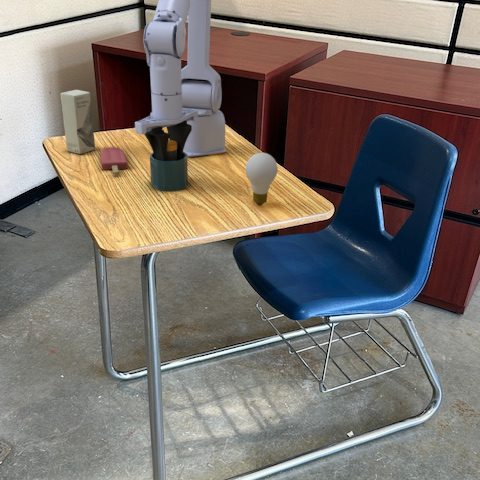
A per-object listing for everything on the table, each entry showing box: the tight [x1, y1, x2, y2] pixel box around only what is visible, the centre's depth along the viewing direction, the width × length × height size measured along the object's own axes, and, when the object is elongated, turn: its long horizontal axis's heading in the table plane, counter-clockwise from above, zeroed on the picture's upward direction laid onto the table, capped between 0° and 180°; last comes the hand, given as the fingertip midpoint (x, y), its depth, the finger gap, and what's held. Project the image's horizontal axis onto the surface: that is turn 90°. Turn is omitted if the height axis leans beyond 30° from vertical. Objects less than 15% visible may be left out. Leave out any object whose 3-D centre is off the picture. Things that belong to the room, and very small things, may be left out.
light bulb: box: [245, 152, 278, 206], centre depth 113 cm, size 6×6×10 cm
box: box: [60, 89, 96, 155], centre depth 136 cm, size 5×4×13 cm
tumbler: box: [149, 152, 189, 192], centre depth 122 cm, size 7×7×6 cm
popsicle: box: [100, 146, 128, 175], centre depth 132 cm, size 5×2×15 cm
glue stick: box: [167, 140, 177, 161], centre depth 120 cm, size 3×3×6 cm
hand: (168, 162), depth 121 cm, fingers closed on glue stick, 3 cm apart
